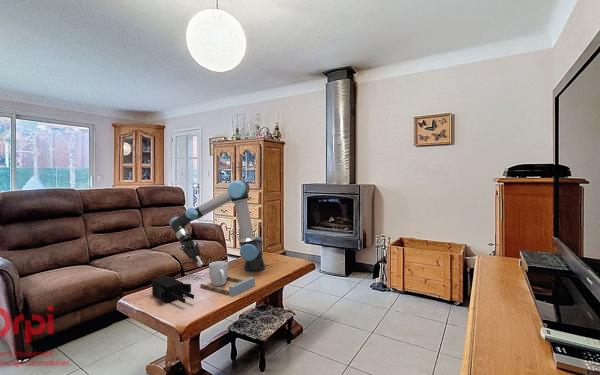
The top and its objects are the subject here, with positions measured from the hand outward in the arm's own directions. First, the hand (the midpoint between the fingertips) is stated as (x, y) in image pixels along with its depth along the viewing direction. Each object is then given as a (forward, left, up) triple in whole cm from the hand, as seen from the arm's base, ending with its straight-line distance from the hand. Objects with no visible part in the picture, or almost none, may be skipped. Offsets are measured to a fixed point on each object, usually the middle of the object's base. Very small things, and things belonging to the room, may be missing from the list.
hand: (201, 265), depth 189 cm
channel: (-15, +15, -10) cm, 24 cm away
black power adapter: (+11, +28, -10) cm, 32 cm away
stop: (-25, +24, -10) cm, 36 cm away
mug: (-12, +11, -10) cm, 19 cm away
